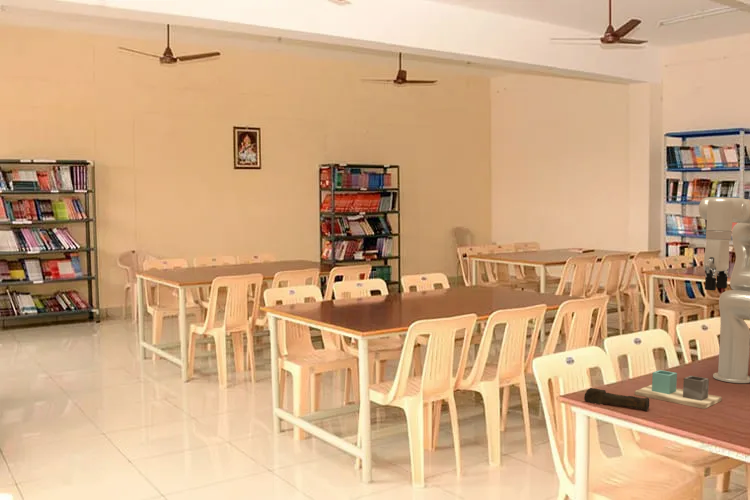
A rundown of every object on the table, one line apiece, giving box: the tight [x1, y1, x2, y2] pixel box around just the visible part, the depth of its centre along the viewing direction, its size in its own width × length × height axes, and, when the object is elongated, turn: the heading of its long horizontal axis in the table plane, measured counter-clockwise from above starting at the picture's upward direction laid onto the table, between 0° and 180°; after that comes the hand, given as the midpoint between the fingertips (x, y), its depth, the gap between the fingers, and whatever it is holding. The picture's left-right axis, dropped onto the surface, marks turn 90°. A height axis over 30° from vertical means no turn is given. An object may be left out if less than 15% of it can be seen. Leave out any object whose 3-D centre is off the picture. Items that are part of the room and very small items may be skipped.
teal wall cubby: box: [651, 369, 678, 394], centre depth 242 cm, size 6×6×6 cm
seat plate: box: [634, 375, 723, 410], centre depth 239 cm, size 14×22×7 cm, turn 46°
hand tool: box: [583, 387, 650, 412], centre depth 228 cm, size 19×4×5 cm, turn 59°
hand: (715, 289), depth 243 cm, fingers open, 9 cm apart
